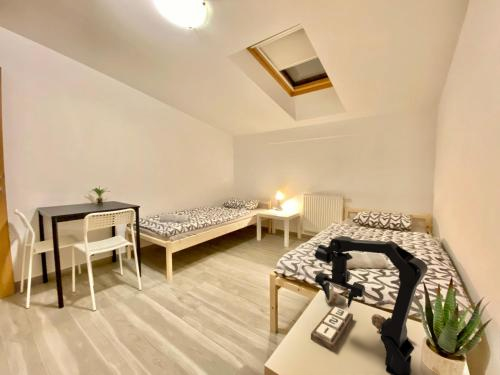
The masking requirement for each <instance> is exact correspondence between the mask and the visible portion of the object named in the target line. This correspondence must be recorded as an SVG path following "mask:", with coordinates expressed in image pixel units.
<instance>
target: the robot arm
mask: <svg viewBox="0 0 500 375" xmlns="http://www.w3.org/2000/svg"><path fill="white" fill-rule="evenodd" d="M353 251H354V252H360V253H361V252H365V253H374V254H383V255H385V256H386V257H387V259H389V261H390V262H391V264H392V265H393V266H394V267H395V268H396V269H397V270H398V280H399V283H400V284H399V287H398V291H397V295H396V298H395V302H394V306H393V310H392V312H391V313H392V314H391V317H390V316H389V317H387V318H385V319H386V320H385V321H384V322H383V323H382V326H381V332H380V333H378V334H379V335H380V341H381V342H382V344H383V346H384V350H385V358H384V359H385V363H384V365H385V366H386V367H385V371H386V372H387V373H388V374H390V375H411V374H412V355H411V354H412V353H413V351H414V350H415V349H416V348H415V346H414V345H413V343H412V342H411V341H410V340H409V338H408V328H407V322H408V318H409V314H410V311H411V308H412V305H413V301H414V297H415V294H416V291H417V288H418V287H419V285H420V284H421V282H422V281H423V279H424V277H425V276H426V274H427V273H428V269H429V268H428V265H427V264H426V262H425V261H424V260H423V259H422V258H421V259H420V258H419V257H416V256H415V255H413V253H411V252H410V251H408V250H407V249H405V248H403V247H401V246H400V245H399V244H397V243H396V242H395V241H392V240H389V241H384V240H383V241H381V240H365V239H354V238H352V237H348V236H345V235H340V236H337V237H333V238H332V239H331V240H330V243H329V244H328V246H326V245H324V244H318V245H317V248H316V249H315V252H314V257H315V259H316V260H318V261H321V262H323V263H326V264H330V263H331V270H330V273H331V277H329V274H328V273H324V272H321V271H320V272H318V273H317V274H316V275H315V278H314V282H315V283H316V284H318V285H319V287H321V289H322V291H323V293H324V296H325V295H326V297H327V299H328V300H329V299H330V290H329V289H330V284H332V285H336V286H338V287H342V288H345V289H347V290H350V292H349V293H348V296H347V298H348V299H347V308H348V309H349V308H350V307H351V305H352V303H353V300H354V298H356V299H357V297H359V298H363V296H364V294H365V293H366V286H365V285H364V284H362V283H358V282H354V283H353V284H351V283H348V282H349V280H350V279H351V271H349V270H348V261H350V260H352V259H353V256H352V255H351V254H350V253H349V252H353Z"/></svg>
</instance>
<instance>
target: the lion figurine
mask: <svg viewBox="0 0 500 375" xmlns="http://www.w3.org/2000/svg"><path fill="white" fill-rule="evenodd" d="M370 319H371V323H372V324H371V325H372V326H374V327H375V328H376V329H377V330H376V333H377V334H379V333H380V332H381V326H382V323H383V322H384V321H385V320H386V319H387V318H386V317H385V316H382V315H380V314H377V313H374V314H373V315H371V318H370Z"/></svg>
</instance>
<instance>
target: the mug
mask: <svg viewBox="0 0 500 375" xmlns="http://www.w3.org/2000/svg"><path fill="white" fill-rule="evenodd" d="M329 290H330V299H329V300H328V299H327V297H326V295H325V294H324V299H325V303H326V304H328V305H331V306H334V305H335V306H336V305H346V303H347V298H346V297H345V296H344V295H340V294H339V293H338V292H337V291H335V290H333V289H331V288H329Z"/></svg>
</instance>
